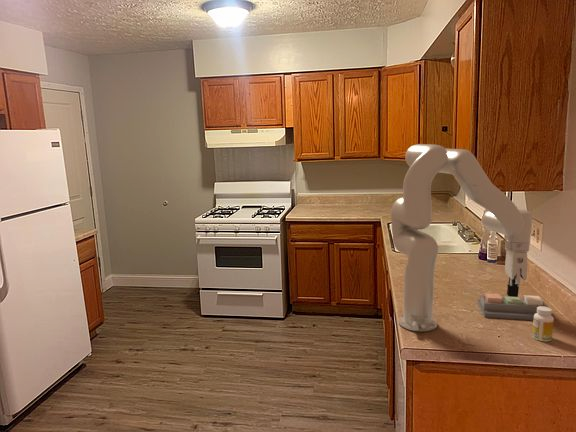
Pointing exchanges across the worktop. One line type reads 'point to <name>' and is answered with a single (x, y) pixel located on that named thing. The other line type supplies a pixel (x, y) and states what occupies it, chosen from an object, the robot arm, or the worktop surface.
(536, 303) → the cream key
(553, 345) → the worktop surface
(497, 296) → the terracotta key
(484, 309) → the console
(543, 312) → the supplement bottle
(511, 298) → the sage key
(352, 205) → the worktop surface
